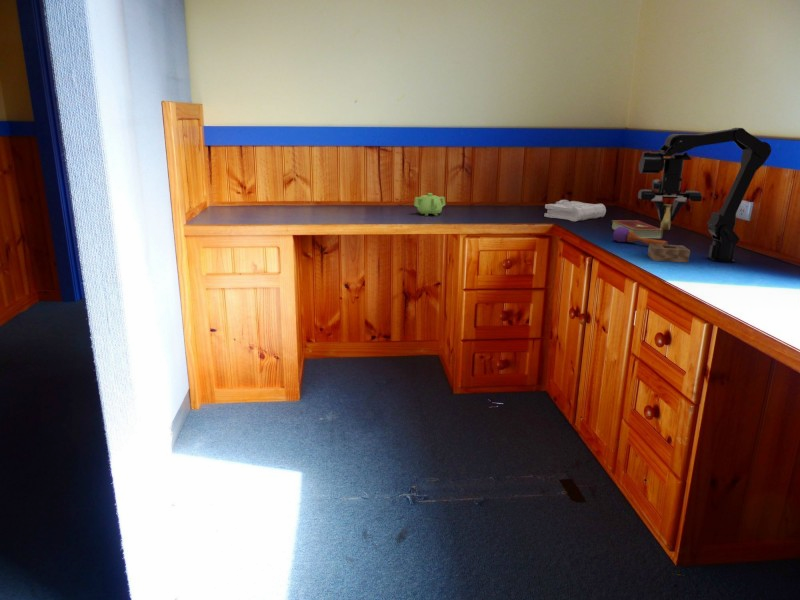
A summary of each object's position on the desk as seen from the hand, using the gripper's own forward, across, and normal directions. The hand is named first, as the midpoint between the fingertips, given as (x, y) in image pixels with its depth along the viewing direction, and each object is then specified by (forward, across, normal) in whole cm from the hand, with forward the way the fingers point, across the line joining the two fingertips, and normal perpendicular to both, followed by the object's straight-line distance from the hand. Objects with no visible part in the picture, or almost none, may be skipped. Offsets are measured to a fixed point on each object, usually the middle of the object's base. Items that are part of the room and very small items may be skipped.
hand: (665, 221), depth 206 cm
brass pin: (+2, 0, 0) cm, 2 cm away
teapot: (+11, +87, -65) cm, 109 cm away
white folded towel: (+13, +19, -82) cm, 85 cm away
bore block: (+12, -2, +2) cm, 12 cm away
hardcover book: (+13, 0, -45) cm, 47 cm away
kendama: (+13, +4, -20) cm, 24 cm away
